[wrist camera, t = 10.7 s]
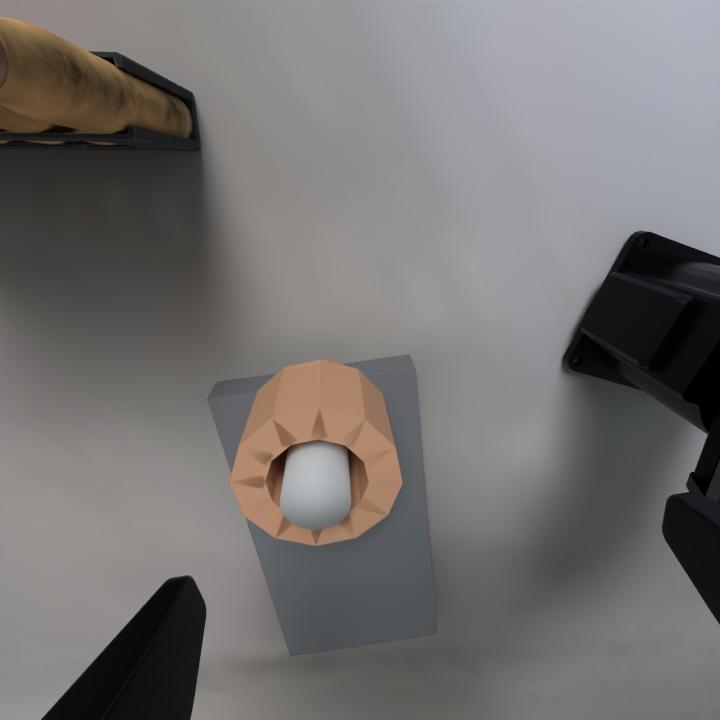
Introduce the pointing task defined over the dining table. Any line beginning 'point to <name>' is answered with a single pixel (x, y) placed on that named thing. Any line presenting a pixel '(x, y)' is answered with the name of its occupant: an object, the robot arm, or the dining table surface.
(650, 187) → the dining table surface
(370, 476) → the ring
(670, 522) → the robot arm
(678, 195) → the dining table surface
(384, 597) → the board
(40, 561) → the dining table surface
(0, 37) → the ammunition clip
